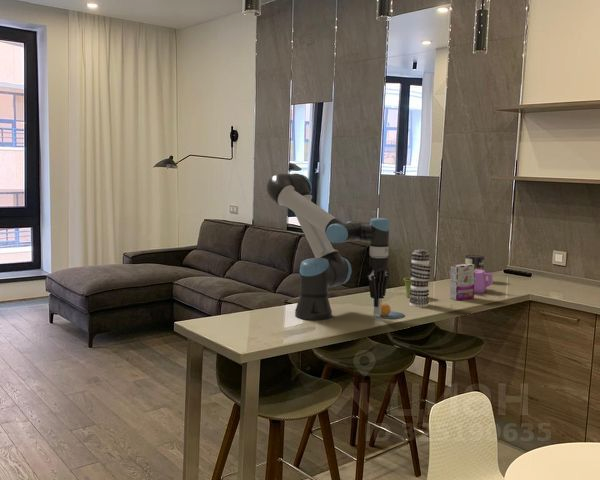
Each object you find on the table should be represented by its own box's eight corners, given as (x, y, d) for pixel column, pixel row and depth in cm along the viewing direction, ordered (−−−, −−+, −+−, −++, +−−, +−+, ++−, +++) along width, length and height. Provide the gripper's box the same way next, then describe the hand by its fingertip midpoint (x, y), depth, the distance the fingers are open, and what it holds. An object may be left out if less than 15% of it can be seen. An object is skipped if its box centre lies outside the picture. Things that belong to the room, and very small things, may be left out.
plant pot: (408, 299, 288) (408, 281, 287) (399, 295, 297) (400, 277, 296) (426, 298, 291) (426, 280, 290) (417, 294, 300) (417, 277, 299)
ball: (374, 302, 253) (381, 305, 257) (374, 315, 251) (381, 318, 255) (386, 301, 250) (392, 304, 254) (386, 314, 248) (392, 317, 252)
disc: (367, 315, 254) (367, 314, 254) (384, 310, 264) (384, 309, 264) (394, 320, 246) (394, 319, 246) (410, 314, 256) (410, 314, 256)
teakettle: (494, 293, 308) (496, 268, 306) (465, 294, 302) (466, 270, 301) (475, 287, 324) (476, 264, 322) (447, 288, 318) (448, 265, 317)
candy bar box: (466, 296, 297) (468, 263, 295) (474, 298, 292) (475, 264, 291) (449, 298, 292) (450, 264, 290) (456, 300, 287) (457, 266, 285)
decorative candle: (406, 302, 281) (407, 248, 278) (425, 302, 281) (427, 248, 279) (411, 307, 272) (413, 251, 269) (431, 306, 272) (434, 251, 270)
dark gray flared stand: (485, 280, 343) (486, 255, 342) (479, 283, 335) (481, 257, 333) (467, 278, 349) (468, 254, 347) (461, 281, 340) (462, 256, 339)
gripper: (378, 259, 238) (376, 318, 241) (395, 256, 248) (393, 313, 251) (362, 257, 243) (360, 315, 246) (379, 254, 253) (378, 310, 256)
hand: (377, 314), depth 248 cm, fingers closed
